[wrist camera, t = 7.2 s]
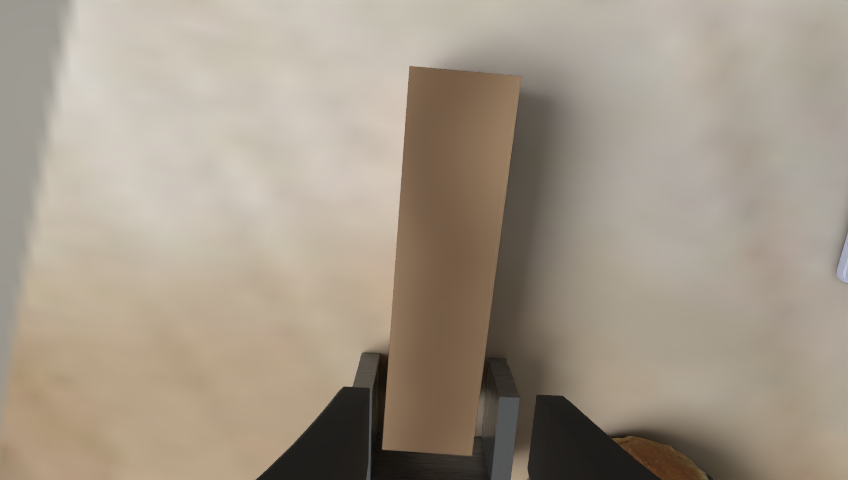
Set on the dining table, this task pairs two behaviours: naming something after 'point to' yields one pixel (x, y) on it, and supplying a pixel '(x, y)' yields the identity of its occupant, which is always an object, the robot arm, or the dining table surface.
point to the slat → (446, 254)
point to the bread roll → (661, 459)
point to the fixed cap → (444, 473)
